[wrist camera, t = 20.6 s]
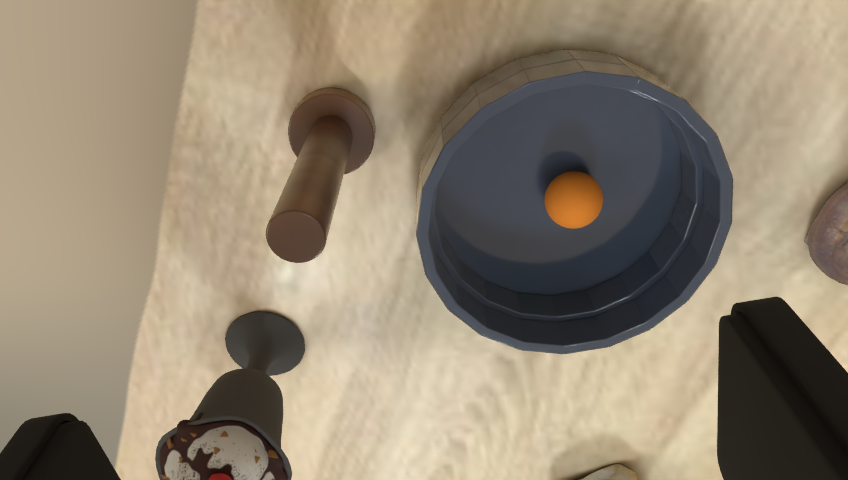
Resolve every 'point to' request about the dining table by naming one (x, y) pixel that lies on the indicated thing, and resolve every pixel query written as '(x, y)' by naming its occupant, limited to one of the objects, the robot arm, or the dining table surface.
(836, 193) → the mortar and pestle
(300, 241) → the brown flanged wooden cylinder
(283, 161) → the dining table surface
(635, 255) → the bowl
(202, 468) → the sundae
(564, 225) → the orange ball
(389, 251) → the dining table surface
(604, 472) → the pastry
